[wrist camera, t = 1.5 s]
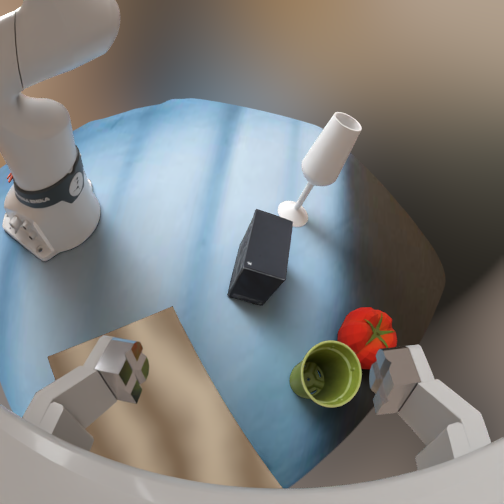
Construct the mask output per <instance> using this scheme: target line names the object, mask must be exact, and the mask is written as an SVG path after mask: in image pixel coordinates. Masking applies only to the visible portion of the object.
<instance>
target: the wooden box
mask: <svg viewBox="0 0 504 504" xmlns="http://www.w3.org/2000/svg"><path fill="white" fill-rule="evenodd" d="M104 335H105V336H111V337H116V338H122V339H127V340H133V341H138V342H140V343H141V345H142V347H143V350H142V353H143V354H144V355H145V356H147V359H148V361H149V374H148V377H147V380H146V381H145V382H143V383H142V384H141V387H142V392H141V395H140V397H139V400H138V402H137V404H134V403H129V402H125V401H120V400H117V402H116V403H115V404H113V405H112V406H111V407H110V408H109V409H108V410H106V411H105V412H104V413H103V414H102V415H101V416H100V417H98V418H97V419H96V420H95V421H94V422H93V423H92V424H90V425H89V426H88V427H87V428H86V429H85V430H86V431H87V432H88V433H89V434H91V435H92V436H93V439H94V441H93V444H92V447H91V449H90V452H92V453H95V454H97V455H100V456H103V457H105V458H108V459H111V460H114V461H117V462H120V463H123V464H126V465H129V466H133V467H136V468H139V469H143V470H147V471H150V472H154V473H158V474H162V475H167V476H171V477H176V478H181V479H186V480H191V481H197V482H203V483H210V484H218V485H226V486H236V487H249V488H273V489H283V488H282V487H281V486H280V484H279V483H278V482H277V480H276V479H275V478H274V476H273V475H272V473H271V472H270V471H269V469H268V468H267V467H266V465H265V464H264V462H263V461H262V460H261V458H260V457H259V455H258V454H257V452H256V451H255V449H254V448H253V446H252V445H251V443H250V442H249V441H248V439H247V438H246V436H245V434H244V433H243V431H242V430H241V428H240V427H239V425H238V424H237V422H236V420H235V419H234V417H233V416H232V414H231V413H230V411H229V409H228V408H227V406H226V404H225V403H224V401H223V399H222V398H221V396H220V394H219V393H218V391H217V389H216V388H215V386H214V384H213V382H212V381H211V379H210V377H209V375H208V374H207V372H206V370H205V368H204V366H203V365H202V363H201V361H200V359H199V357H198V355H197V354H196V352H195V350H194V348H193V346H192V344H191V342H190V340H189V338H188V336H187V334H186V333H185V331H184V329H183V327H182V325H181V323H180V321H179V319H178V317H177V315H176V312H175V310H174V308H173V306H172V307H170V308H167V309H165V310H162V311H160V312H158V313H155V314H153V315H150V316H148V317H146V318H143V319H141V320H138V321H136V322H133V323H131V324H129V325H126V326H124V327H121V328H119V329H116V330H114V331H111V332H109V333H106V334H104ZM102 336H103V335H101V336H99V337H97V338H94V339H92V340H89V341H87V342H84V343H81V344H79V345H76V346H74V347H71V348H69V349H66V350H64V351H61V352H59V353H56V354H54V355H51V356H48V360H49V363H50V366H51V369H52V372H53V374H54V377H55V380H57V379H59V378H61V377H62V376H64V375H65V374H67V373H69V372H70V371H72V370H74V369H75V368H77V367H78V366H83V365H84V363H85V362H86V360H87V358H88V357H89V355H90V353H91V352H92V350H93V348H94V347H95V345H96V343H97V342H98V340H99V338H100V337H102Z"/></svg>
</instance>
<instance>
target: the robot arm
mask: <svg viewBox="0 0 504 504" xmlns="http://www.w3.org/2000/svg"><path fill="white" fill-rule="evenodd" d="M119 26H120V11H119V7H118V5H117V3H116V1H115V0H23V4H22V6H21V7H20V8H18V9H16V11H13V12H11V13H8V14H6V15H4V16H2V17H0V152H1V154H2V156H3V158H4V159H5V161H6V163H7V165H8V167H9V169H10V171H11V173H10V174H9V176H8V177H7V179H8V178H9V177H10V176H11V177H10V179H9V181H8V182H9V183H10V182H11V180H12V179H14V184H13V185H12V187H11V188H10V190H9V192H8V194H7V196H6V199H5V202H4V208H5V211H6V213H5V216H4V219H3V228H4V230H5V231H6V232H7V233H8V234H9V235H11V236H12V237H13V238H14V239H15V240H17V241H18V242H19V243H20V244H21V245H23V246H24V247H25V248H26V249H28V250H29V251H30V252H32V253H33V254H34V255H35V256H37V257H38V258H39V259H41V260H42V261H47V260H49V259H51V258H52V257H54V256H55V255H56V254H57V253H60V252H63V251H66V250H70V249H72V248H74V247H76V246H78V245H80V244H81V243H83V242H84V241H85V240H86V239H87V238H88V237H89V236H90V235H91V234H92V233H93V231H94V230H95V228H96V226H97V224H98V222H99V218H100V205H99V202H98V200H97V198H96V197H95V195H94V193H93V188H92V183H91V181H90V180H89V179H87V176H86V174H85V171H84V169H83V164H82V160H81V154H80V152H79V149H78V147H77V146H76V145H75V142H74V137H73V132H72V127H71V121H70V116H69V113H68V111H67V109H66V108H65V107H64V106H63V105H62V104H60V103H59V102H56V101H54V100H51V99H46V98H31V97H28V96H25V95H24V94H22V93H21V91H23V90H24V89H25V88H28V87H30V86H32V85H34V84H37V83H39V82H41V81H44V80H46V79H49V78H51V77H53V76H56V75H59V74H62V73H65V72H67V71H70V70H73V69H75V68H77V67H79V66H81V65H83V64H85V63H87V62H89V61H91V60H93V59H95V58H97V57H99V56H101V55H103V54H105V53H106V52H107V50H108V49H109V48H110V46H111V45H112V43H113V42H114V39H115V38H116V36H117V33H118V29H119ZM41 250H42V251H41ZM40 251H41V252H40ZM142 350H143V347H142V345H141V343H140V342H138V341H133V340H127V339H122V338H116V337H111V336H105V335H103V336H102V337H100V338H99V340H98V342H97V343H96V345H95V347H94V348H93V350H92V352H91V353H90V355H89V357H88V358H87V360H86V362H85V363H84V365H83V366H78V367H77V368H75V369H74V370H72V371H70V372H69V373H67V374H65V375H64V376H62V377H61V378H59V379H57V380H56V381H54V382H53V383H51V384H49V385H48V386H46V387H44V388H43V389H41V390H40V391H38V392H36V394H35V396H34V397H33V399H32V401H31V403H30V404H29V406H28V408H27V410H26V412H25V413H24V415H23V417H22V418H21V417H20V416H18V415H16V414H15V413H13V412H12V411H10V410H9V409H7V408H5V407H4V406H2V405H1V404H0V504H504V437H503V438H500V439H498V440H496V441H494V442H492V443H491V441H490V438H489V435H488V432H487V429H486V427H485V423H484V421H483V418H482V415H481V413H480V412H478V411H477V410H476V409H475V408H474V407H472V406H471V405H470V404H469V403H467V402H466V401H465V400H464V399H462V398H461V397H460V396H459V395H457V394H456V393H455V392H454V391H452V390H451V389H450V388H449V387H447V386H446V385H445V384H443V383H442V382H441V381H439V380H438V379H437V380H435V379H434V377H433V374H432V372H431V369H430V367H429V364H428V362H427V360H426V357H425V355H424V353H423V350H422V348H421V347H420V345H411V346H400V347H391V348H381V349H379V350H378V351H377V354H376V359H377V361H376V362H374V363H373V364H372V366H371V369H370V375H369V381H370V387H371V390H372V391H373V392H375V393H376V395H375V397H374V399H373V402H374V406H375V410H376V415H380V414H389V413H396V412H398V414H399V415H400V416H401V417H402V419H403V420H404V421H405V422H406V423H407V424H408V425H409V426H410V428H411V429H412V430H413V431H414V432H415V433H416V434H417V436H418V437H419V438H420V439H421V440H422V441H423V442H424V443H425V445H426V447H425V448H424V449H423V450H422V451H421V452H420V453H418V455H417V456H416V457H415V458H416V463H417V468H418V471H414V472H410V473H406V474H403V475H398V476H394V477H389V478H385V479H379V480H374V481H368V482H362V483H355V484H348V485H340V486H331V487H317V488H295V489H294V488H293V489H273V488H249V487H236V486H226V485H218V484H210V483H203V482H197V481H191V480H186V479H181V478H176V477H171V476H167V475H162V474H158V473H154V472H150V471H147V470H143V469H139V468H136V467H133V466H129V465H126V464H123V463H120V462H117V461H114V460H111V459H108V458H105V457H103V456H100V455H97V454H95V453H92V452H90V449H91V447H92V444H93V441H94V439H93V436H92V435H91V434H89V433H88V432H87V431H86V430H85V429H86V428H87V427H88V426H89V425H90V424H92V423H93V422H94V421H95V420H96V419H97V418H98V417H100V416H101V415H102V414H103V413H104V412H105V411H106V410H108V409H109V408H110V407H111V406H112V405H113V404H115V403H116V402H117V400H120V401H125V402H129V403H134V404H137V402H138V400H139V397H140V395H141V392H142V387H141V384H142V383H143V382H145V381H146V380H147V377H148V374H149V361H148V359H147V356H145V355H144V354H143V353H142Z"/></svg>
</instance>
